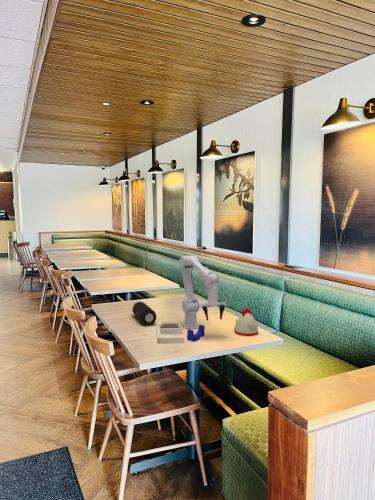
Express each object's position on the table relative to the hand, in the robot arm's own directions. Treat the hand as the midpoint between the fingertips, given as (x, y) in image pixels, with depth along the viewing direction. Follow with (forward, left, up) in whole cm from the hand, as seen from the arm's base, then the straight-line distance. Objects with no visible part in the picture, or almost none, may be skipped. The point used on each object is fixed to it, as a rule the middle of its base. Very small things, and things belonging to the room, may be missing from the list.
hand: (214, 319), depth 202 cm
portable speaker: (-36, -40, -11) cm, 55 cm away
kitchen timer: (-10, +21, -11) cm, 26 cm away
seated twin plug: (-12, -24, -11) cm, 29 cm away
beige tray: (-5, -24, -11) cm, 27 cm away
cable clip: (-1, -9, -11) cm, 15 cm away
